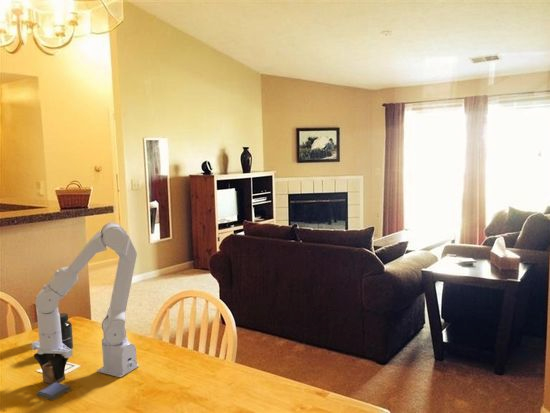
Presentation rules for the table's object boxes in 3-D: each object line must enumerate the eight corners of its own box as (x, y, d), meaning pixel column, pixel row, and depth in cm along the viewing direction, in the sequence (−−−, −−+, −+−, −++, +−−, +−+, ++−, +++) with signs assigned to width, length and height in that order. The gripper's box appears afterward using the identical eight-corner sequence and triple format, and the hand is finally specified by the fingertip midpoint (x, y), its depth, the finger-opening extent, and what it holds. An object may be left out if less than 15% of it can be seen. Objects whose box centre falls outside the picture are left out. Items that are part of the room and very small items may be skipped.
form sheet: (81, 366, 142) (81, 365, 142) (59, 377, 135) (59, 377, 135) (58, 360, 147) (58, 359, 147) (35, 371, 140) (35, 370, 140)
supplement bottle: (67, 354, 151) (64, 319, 150) (47, 354, 151) (44, 319, 150) (77, 345, 158) (74, 311, 156) (57, 345, 158) (54, 311, 156)
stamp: (65, 379, 134) (63, 358, 133) (53, 386, 131) (51, 364, 130) (55, 376, 136) (53, 356, 135) (43, 383, 132) (41, 362, 132)
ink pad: (70, 389, 128) (70, 385, 128) (52, 400, 123) (51, 396, 123) (55, 385, 131) (55, 381, 131) (36, 395, 125) (36, 391, 125)
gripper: (20, 332, 131) (24, 378, 133) (55, 340, 125) (59, 388, 126) (42, 323, 137) (46, 367, 139) (77, 331, 131) (80, 376, 133)
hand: (53, 376), depth 133 cm, fingers closed on stamp, 4 cm apart
